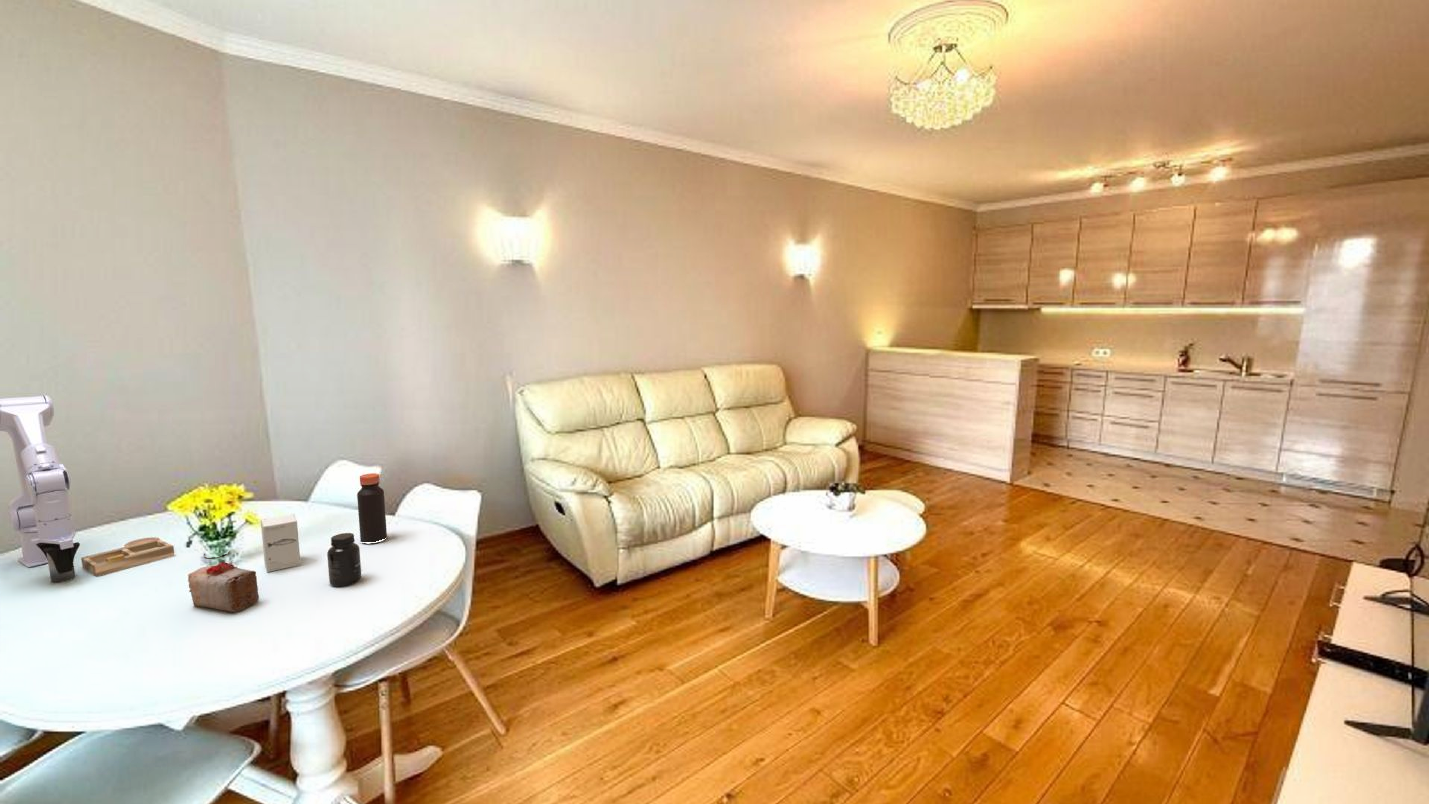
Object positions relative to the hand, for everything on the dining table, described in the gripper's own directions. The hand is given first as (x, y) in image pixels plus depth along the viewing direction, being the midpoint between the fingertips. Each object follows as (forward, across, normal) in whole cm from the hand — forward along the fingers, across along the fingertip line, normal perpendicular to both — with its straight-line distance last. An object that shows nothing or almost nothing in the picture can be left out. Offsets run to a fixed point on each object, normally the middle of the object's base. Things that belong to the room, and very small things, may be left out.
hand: (62, 570), depth 140 cm
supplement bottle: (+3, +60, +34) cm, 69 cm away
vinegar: (+3, +40, +54) cm, 67 cm away
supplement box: (+3, +36, +32) cm, 48 cm away
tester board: (+2, 0, +12) cm, 12 cm away
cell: (+2, 0, 0) cm, 2 cm away
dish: (+2, -8, +17) cm, 19 cm away
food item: (+3, +48, +14) cm, 50 cm away
